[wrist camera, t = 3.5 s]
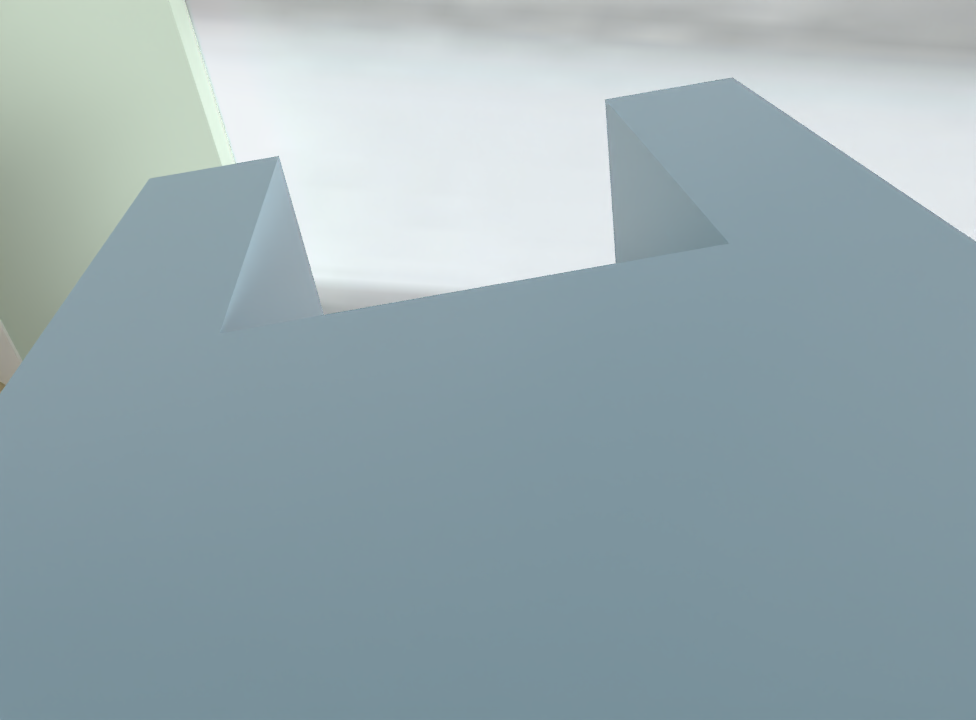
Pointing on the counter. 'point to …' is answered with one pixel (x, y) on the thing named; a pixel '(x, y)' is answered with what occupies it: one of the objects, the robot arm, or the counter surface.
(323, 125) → the counter surface
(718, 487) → the blue notched block
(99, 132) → the pale green flat slab
